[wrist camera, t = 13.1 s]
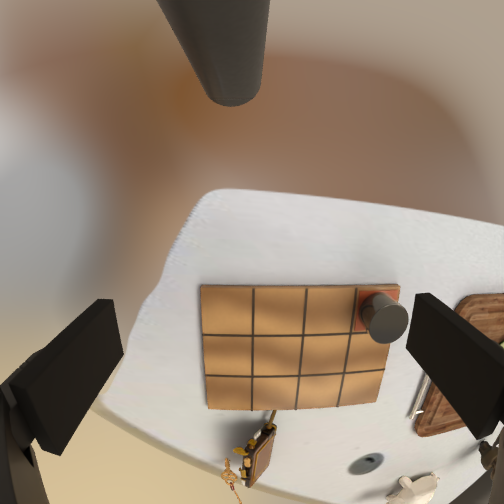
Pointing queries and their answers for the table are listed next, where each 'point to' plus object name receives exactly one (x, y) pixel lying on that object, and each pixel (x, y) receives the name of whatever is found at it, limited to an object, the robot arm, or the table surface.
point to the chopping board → (436, 405)
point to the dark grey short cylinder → (383, 317)
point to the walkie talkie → (254, 455)
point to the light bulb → (488, 457)
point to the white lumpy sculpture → (415, 490)
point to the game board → (289, 346)
